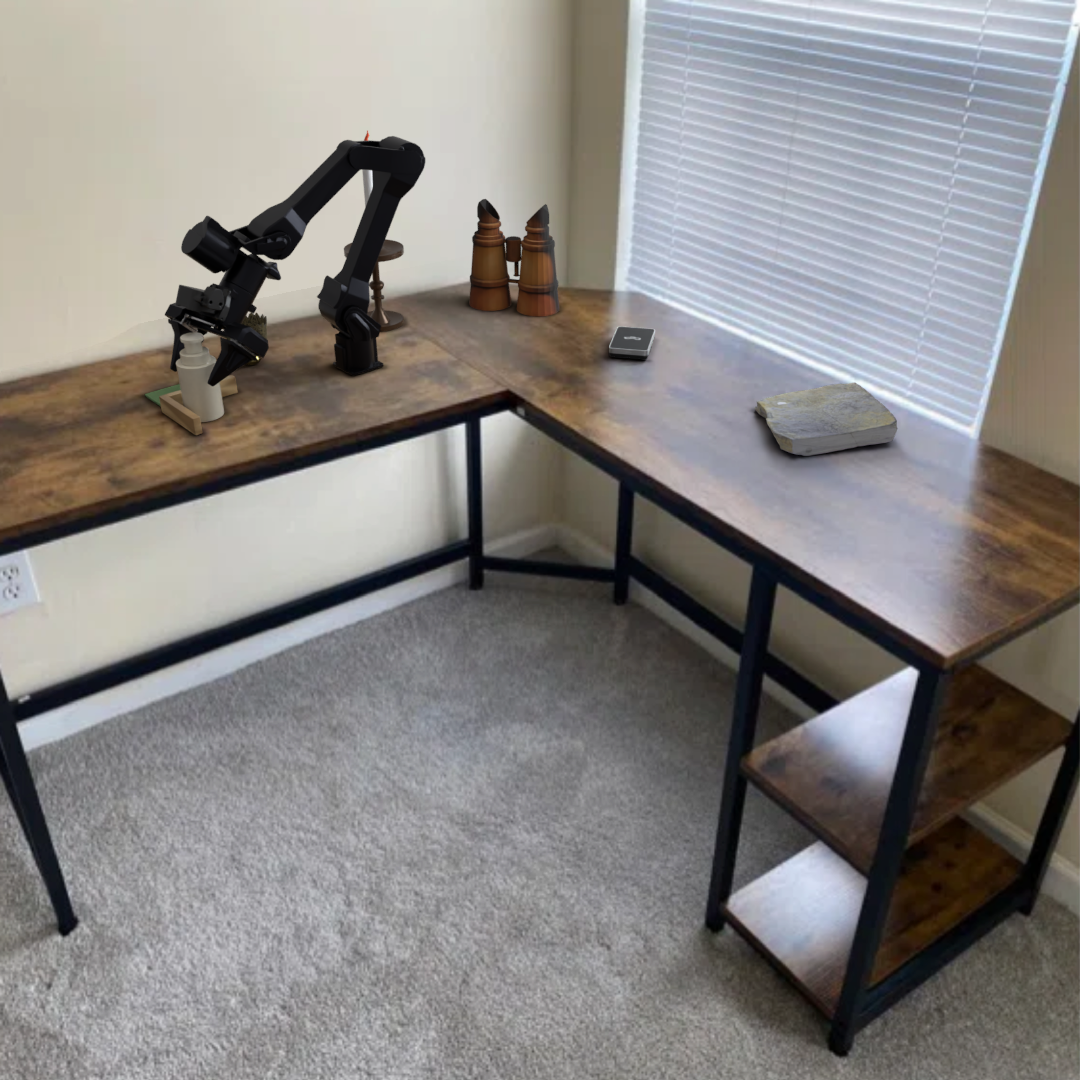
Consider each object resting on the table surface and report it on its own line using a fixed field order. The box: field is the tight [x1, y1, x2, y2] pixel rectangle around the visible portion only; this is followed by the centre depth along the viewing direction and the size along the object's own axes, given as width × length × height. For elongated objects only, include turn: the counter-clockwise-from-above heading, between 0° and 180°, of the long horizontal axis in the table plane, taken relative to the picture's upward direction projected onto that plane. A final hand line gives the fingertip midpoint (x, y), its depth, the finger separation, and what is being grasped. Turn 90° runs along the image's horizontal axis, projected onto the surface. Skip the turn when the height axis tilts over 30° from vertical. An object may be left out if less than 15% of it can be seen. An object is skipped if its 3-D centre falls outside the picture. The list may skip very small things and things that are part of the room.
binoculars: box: [468, 198, 561, 317], centre depth 215 cm, size 18×8×20 cm, turn 72°
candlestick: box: [343, 130, 405, 333], centre depth 203 cm, size 11×11×35 cm
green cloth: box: [144, 383, 180, 408], centre depth 185 cm, size 12×6×1 cm, turn 132°
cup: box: [228, 312, 268, 366], centre depth 193 cm, size 8×7×8 cm
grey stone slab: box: [754, 382, 898, 457], centre depth 172 cm, size 20×5×17 cm
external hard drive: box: [608, 325, 656, 361], centre depth 200 cm, size 7×11×2 cm, turn 168°
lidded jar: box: [176, 332, 225, 423], centre depth 174 cm, size 6×6×13 cm
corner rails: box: [159, 374, 239, 436], centre depth 177 cm, size 13×11×3 cm
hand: (191, 377), depth 173 cm, fingers open, 9 cm apart
